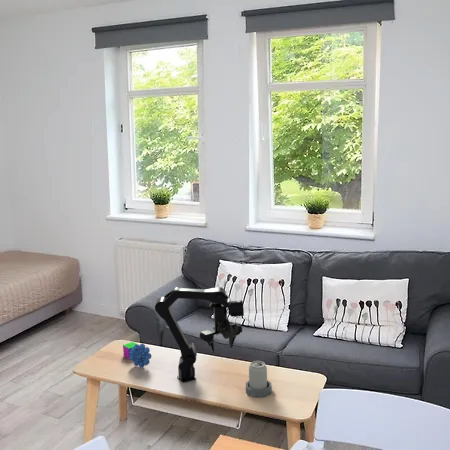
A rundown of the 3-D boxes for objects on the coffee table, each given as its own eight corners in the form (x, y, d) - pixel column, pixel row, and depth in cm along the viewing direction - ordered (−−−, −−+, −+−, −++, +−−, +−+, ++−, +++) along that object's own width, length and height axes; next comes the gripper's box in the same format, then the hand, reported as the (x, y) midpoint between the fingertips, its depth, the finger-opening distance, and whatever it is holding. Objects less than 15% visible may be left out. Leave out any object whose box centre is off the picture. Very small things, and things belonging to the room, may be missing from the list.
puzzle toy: (139, 356, 276) (139, 345, 275) (129, 359, 272) (128, 348, 271) (133, 352, 280) (133, 341, 279) (123, 356, 277) (122, 345, 276)
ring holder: (255, 400, 231) (254, 393, 231) (241, 389, 240) (240, 382, 240) (276, 392, 237) (276, 386, 236) (262, 382, 246) (262, 376, 245)
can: (270, 390, 237) (270, 364, 235) (256, 396, 233) (255, 369, 231) (260, 383, 244) (259, 358, 241) (245, 388, 240) (245, 362, 237)
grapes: (157, 365, 265) (155, 341, 262) (149, 371, 259) (147, 347, 256) (136, 361, 270) (134, 337, 267) (128, 367, 264) (126, 343, 261)
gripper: (210, 327, 234) (212, 362, 237) (248, 317, 243) (249, 351, 246) (198, 319, 244) (200, 353, 247) (235, 310, 253) (236, 342, 256)
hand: (222, 350), depth 249 cm, fingers open, 9 cm apart
